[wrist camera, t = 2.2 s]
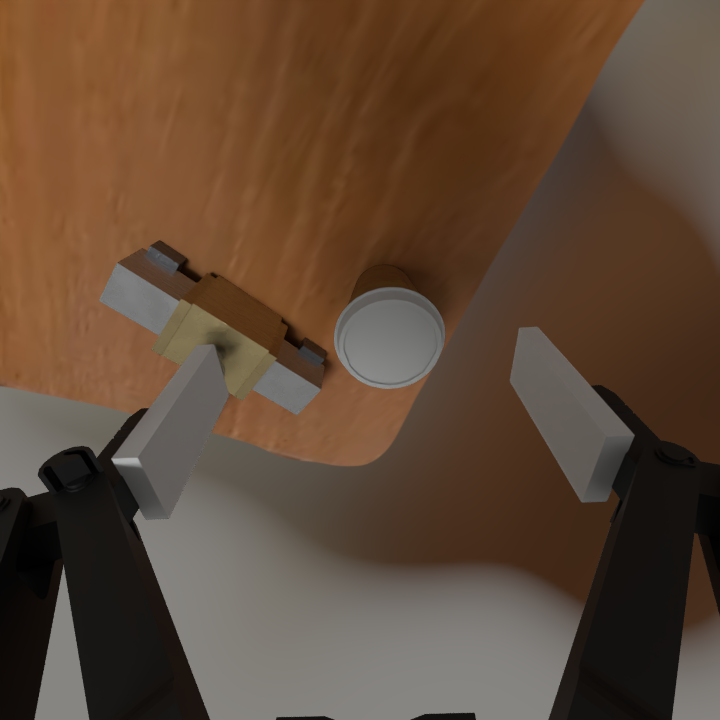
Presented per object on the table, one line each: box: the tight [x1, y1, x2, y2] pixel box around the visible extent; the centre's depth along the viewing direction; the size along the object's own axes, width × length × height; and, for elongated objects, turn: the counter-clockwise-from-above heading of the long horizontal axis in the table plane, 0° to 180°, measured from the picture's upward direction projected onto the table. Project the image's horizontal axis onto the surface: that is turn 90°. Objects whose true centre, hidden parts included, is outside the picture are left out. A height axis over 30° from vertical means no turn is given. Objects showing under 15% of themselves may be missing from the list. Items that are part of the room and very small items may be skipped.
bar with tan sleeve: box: [99, 240, 326, 415], centre depth 39 cm, size 22×7×10 cm, turn 51°
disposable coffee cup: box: [334, 265, 445, 389], centre depth 37 cm, size 10×10×12 cm
